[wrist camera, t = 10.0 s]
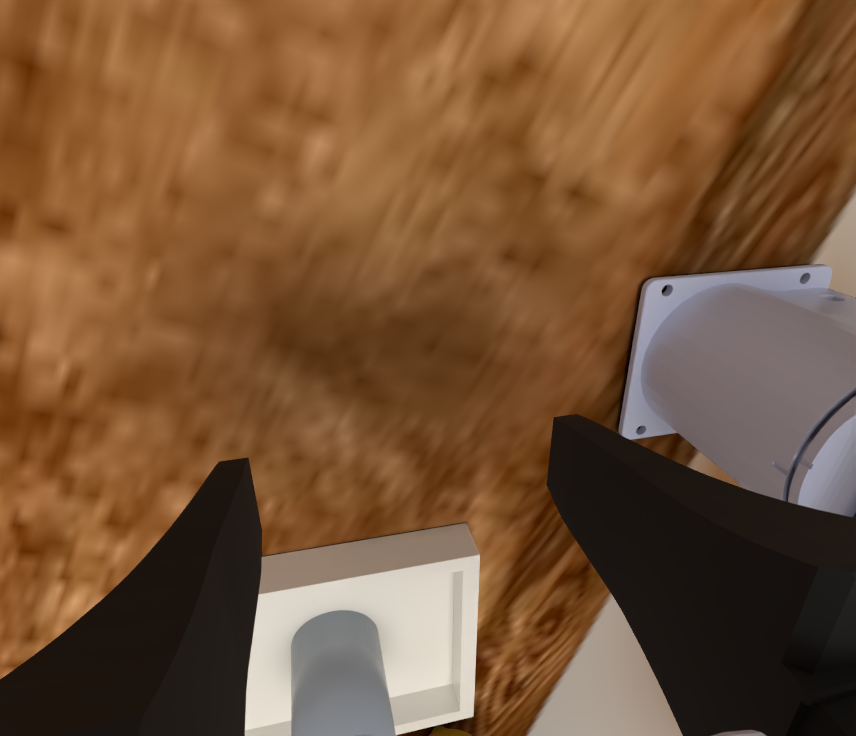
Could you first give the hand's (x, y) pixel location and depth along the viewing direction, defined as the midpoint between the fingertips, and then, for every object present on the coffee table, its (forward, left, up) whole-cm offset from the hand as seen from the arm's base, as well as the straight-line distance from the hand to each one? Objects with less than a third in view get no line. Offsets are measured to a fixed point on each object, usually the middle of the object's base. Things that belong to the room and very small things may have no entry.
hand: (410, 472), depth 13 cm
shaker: (+3, +17, -9) cm, 19 cm away
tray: (+3, +17, -10) cm, 20 cm away
